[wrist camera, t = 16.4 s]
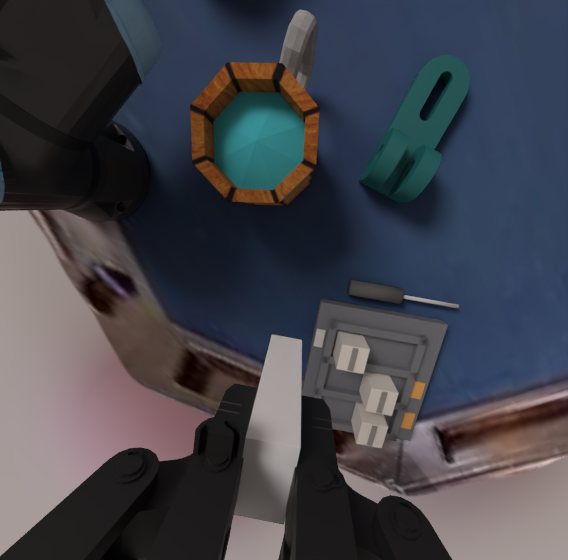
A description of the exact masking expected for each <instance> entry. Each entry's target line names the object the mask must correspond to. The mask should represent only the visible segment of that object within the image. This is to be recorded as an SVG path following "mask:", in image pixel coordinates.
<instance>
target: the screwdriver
mask: <svg viewBox="0 0 568 560" xmlns="http://www.w3.org/2000/svg"><path fill="white" fill-rule="evenodd" d="M348 295H353V296H358V297H364V298H370V299H375V300H381V301H386V302H392V303H397V304H400V303H401V302H402V300H403V299H408V300H413V301H419V302H425V303H430V304H436V305H441V306H447V307H452V308H459V305H458V304H452V303H446V302H441V301H435V300H430V299H424V298H418V297H413V296H407V295H404V291H403V289H401V288H395V287H389V286H384V285H378V284H373V283H367V282H361V281H356V280H350V282H349V286H348Z"/></svg>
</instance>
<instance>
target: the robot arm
mask: <svg viewBox="0 0 568 560" xmlns="http://www.w3.org/2000/svg"><path fill="white" fill-rule="evenodd" d="M161 50H162V45H161V38H160V35H159V32H158V29H157V27H156V25H155V23H154V21H153V20H152V18H151V16H150V14H149V13H148V11H147V9H146V8H145V6H144V4H143V3H142V1H141V0H0V211H2V210H3V211H5V210H58V209H59V210H65V211H67V212H70V213H72V214H75V215H77V216H80V217H82V218H85V219H88V220H93V221H115V220H120V219H123V218H126V217H128V216H129V215H131V214H132V213H134V212H135V211H136V210H137V209H138V208H139V207H140V206H141V204H142V203H143V201H144V199H145V197H146V195H147V192H148V188H149V181H150V172H149V165H148V161H147V158H146V155H145V152H144V150H143V148H142V146H141V145H140V143H139V142H138V140H137V139H136V138H135V137H134V135H133V134H132V133H131V132H130V131H129V130H127V129H126V128H125V127H124V126H122V125H121V124H119V123H117V122H115V121H113V120H112V118H113V117H114V116H115V115H116V113H117V112H118V111H119V110H120V108H121V107H122V106H123V105H124V103H125V102H126V101H127V100H128V98H129V97H130V96H131V94H132V93H133V92H134V91H135V89H136V88H137V87H138V86H139V84H140V85H143V84H144V82H145V77H146V75H147V74H148V73H149V71H150V70H151V68H152V67H153V66H154V64H155V63H156V61H157V60H158V58H159V57H160V54H161ZM301 375H302V340H300V339H294V338H289V337H283V336H278V335H272V336H271V340H270V344H269V348H268V352H267V355H266V359H265V363H264V367H263V371H262V375H261V379H260V383H259V387H258V388H256V387H250V386H245V385H240V384H233V385H232V386H231V387H230V388H229V389H227V390H226V392H225V394H224V396H223V399H222V402H221V403H220V406H219V408H218V410H217V413H216V415H215V417H213V418H209V419H207V420H205V421H204V422H202V423H201V424H200V425H199V426H198V428H197V429H196V431H195V441H194V450H193V454H191V455H190V456H187V457H185V458H182V459H177V460H169V461H159V460H158V458H157V456H156V454H155V453H153V452H152V451H151V450H149V449H145V448H130V449H127V450H124V451H122V452H119V453H117V454H116V455H115V456H113V457H112V458H110V459H109V460H108V461H107V462H105V463H104V464H103V465H102V466H101V467H100V468H99V469H98V470H96V471H95V472H94V473H93V474H92V475H91V476H90V477H89V478H88V479H86V480H85V481H84V482H83V483H82V484H81V485H80V486H79V487H78V488H76V489H75V490H74V491H73V492H72V493H71V494H70V495H69V496H67V497H66V498H65V499H64V500H63V501H62V502H61V503H60V504H59V505H57V506H56V507H55V508H54V509H53V510H52V511H51V512H49V514H47V515H46V516H45V517H44V518H43V519H42V520H40V521H39V522H38V523H37V524H36V525H35V526H34V527H33V528H31V530H30V531H28V532H27V533H26V534H25V535H24V536H23V537H21V538H20V539H19V540H18V541H17V542H16V543H15V544H14V545H12V546H11V547H10V548H9V549H8V550H7V551H6V552H5V553H4V554H2V555H1V556H0V560H224V558H225V554H226V550H227V545H228V541H229V536H230V530H231V524H232V519H233V515H239V516H244V517H249V518H254V519H259V520H264V521H269V522H274V523H279V524H284V521H285V533H284V538H283V542H282V547H281V551H280V556H279V560H452V559H451V557H450V556H449V554H448V552H447V551H446V549H445V547H444V545H443V544H442V542H441V540H440V539H439V537H438V535H437V534H436V532H435V531H434V529H433V527H432V526H431V524H430V522H429V521H428V519H427V518H426V517H425V515H424V514H423V513H422V512H421V511H420V510H419V509H418V508H417V507H416V506H414V505H413V504H412V503H411V502H409V501H407V500H405V499H403V498H401V497H397V496H391V495H390V496H387V497H384V498H382V499H381V501H380V502H379V503H378V504H377V503H375V502H374V501H372V500H370V499H367V498H366V497H364V496H362V495H360V494H359V493H357V492H355V491H354V490H352V488H351V487H349V486H348V485H347V483H346V482H345V479H344V477H343V475H342V473H341V472H340V471H339V469H338V465H337V458H336V450H335V443H334V435H333V431H332V430H333V428H332V422H331V413H330V409H329V407H328V405H327V404H326V402H325V401H324V399H319V398H314V397H308V396H303V395H301ZM285 517H286V518H285Z"/></svg>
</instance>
